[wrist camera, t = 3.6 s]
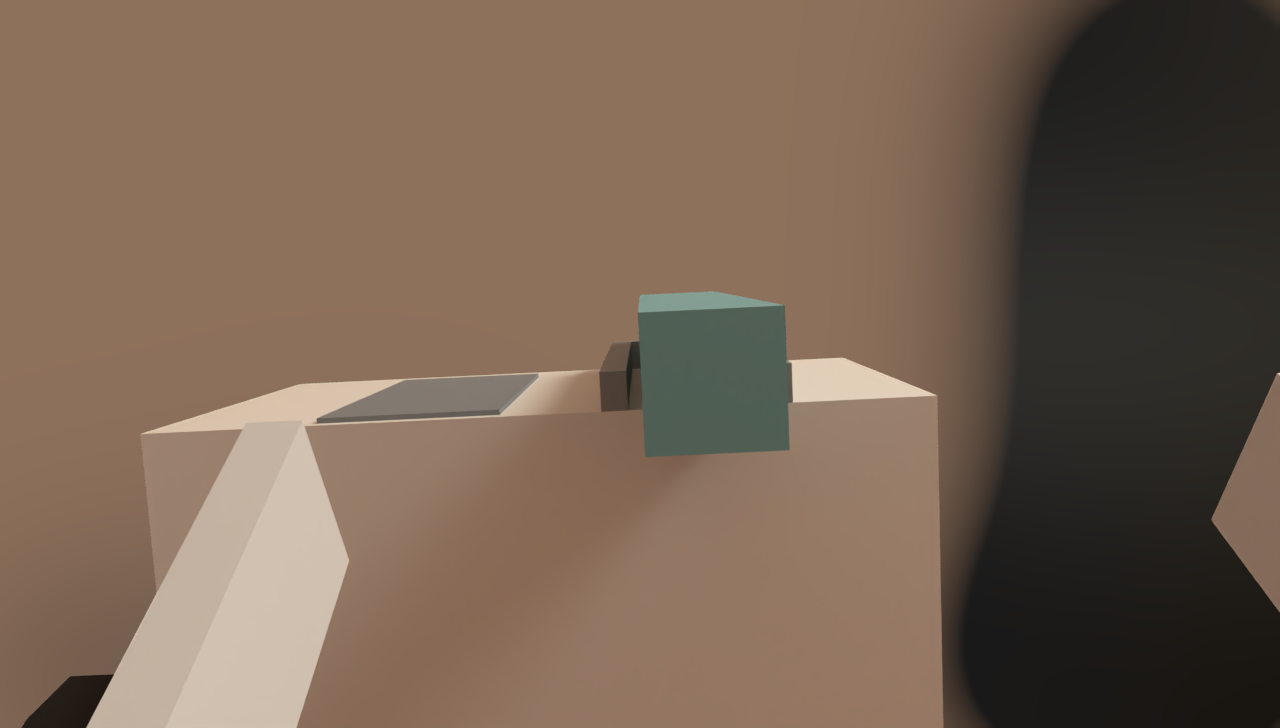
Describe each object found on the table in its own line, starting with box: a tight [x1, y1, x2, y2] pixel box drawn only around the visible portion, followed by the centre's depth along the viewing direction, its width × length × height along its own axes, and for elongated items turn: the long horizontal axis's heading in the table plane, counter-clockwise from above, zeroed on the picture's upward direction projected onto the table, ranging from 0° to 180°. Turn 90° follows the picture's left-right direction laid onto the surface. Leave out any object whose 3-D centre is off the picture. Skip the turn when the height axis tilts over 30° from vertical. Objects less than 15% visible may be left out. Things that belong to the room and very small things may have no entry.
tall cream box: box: [141, 341, 943, 728], centre depth 44 cm, size 16×30×34 cm, turn 90°
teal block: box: [638, 291, 790, 457], centre depth 37 cm, size 24×4×4 cm, turn 0°
